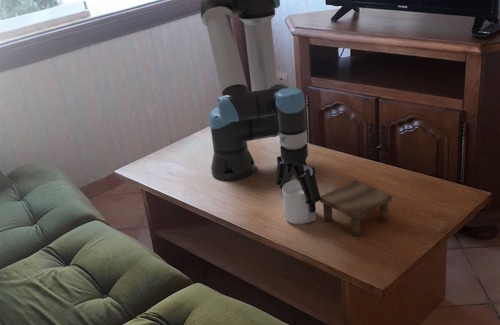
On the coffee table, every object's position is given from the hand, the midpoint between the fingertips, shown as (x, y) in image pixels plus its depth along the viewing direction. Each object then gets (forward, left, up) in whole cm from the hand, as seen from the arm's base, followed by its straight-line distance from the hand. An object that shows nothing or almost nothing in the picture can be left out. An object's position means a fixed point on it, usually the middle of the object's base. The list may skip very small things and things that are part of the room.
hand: (299, 214), depth 174 cm
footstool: (+13, +10, -1) cm, 16 cm away
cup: (0, 0, -1) cm, 1 cm away
